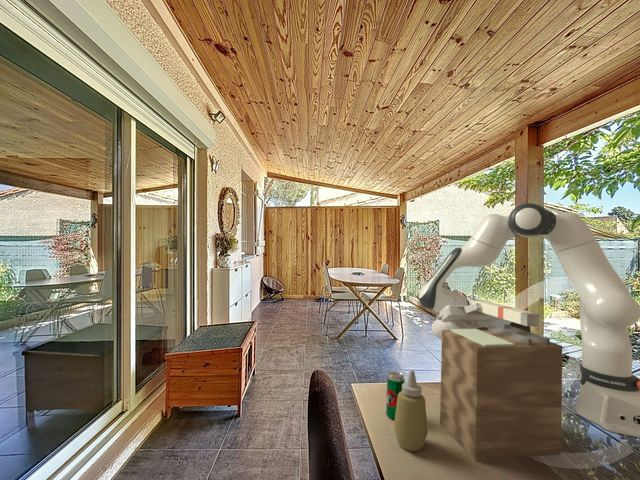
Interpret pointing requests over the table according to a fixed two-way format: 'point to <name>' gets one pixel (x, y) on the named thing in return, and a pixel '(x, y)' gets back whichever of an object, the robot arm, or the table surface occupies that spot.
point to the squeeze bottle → (411, 416)
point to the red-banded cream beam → (508, 313)
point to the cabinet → (502, 394)
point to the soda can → (393, 392)
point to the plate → (482, 337)
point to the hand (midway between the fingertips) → (485, 305)
